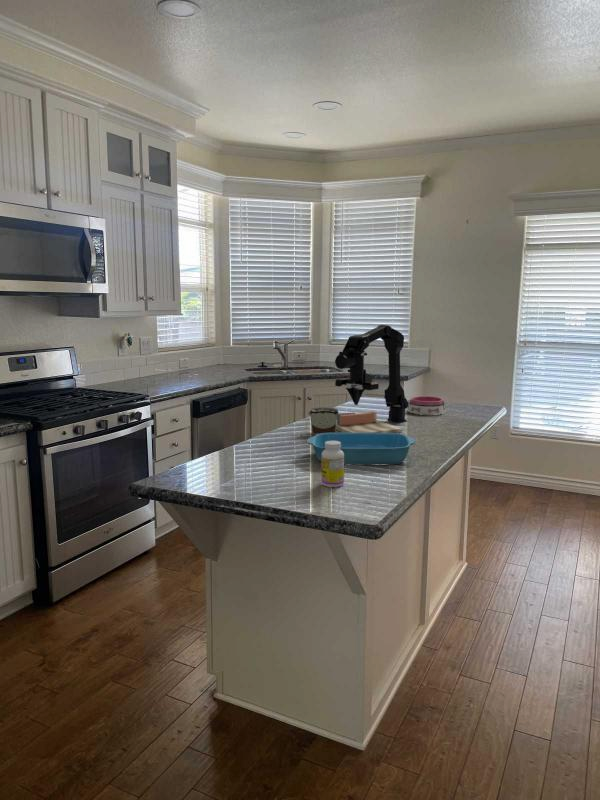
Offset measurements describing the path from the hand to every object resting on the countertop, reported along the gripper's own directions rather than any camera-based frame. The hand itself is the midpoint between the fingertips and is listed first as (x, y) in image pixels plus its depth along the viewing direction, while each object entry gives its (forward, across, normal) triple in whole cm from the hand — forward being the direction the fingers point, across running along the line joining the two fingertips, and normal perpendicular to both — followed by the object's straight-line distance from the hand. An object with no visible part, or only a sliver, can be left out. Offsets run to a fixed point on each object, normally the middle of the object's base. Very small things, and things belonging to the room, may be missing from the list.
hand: (356, 404), depth 243 cm
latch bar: (+9, +4, -7) cm, 12 cm away
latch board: (+11, -2, -5) cm, 12 cm away
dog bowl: (+11, +2, -57) cm, 58 cm away
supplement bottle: (+12, -40, +60) cm, 74 cm away
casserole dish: (+12, -28, +32) cm, 44 cm away
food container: (+11, +8, +10) cm, 18 cm away
